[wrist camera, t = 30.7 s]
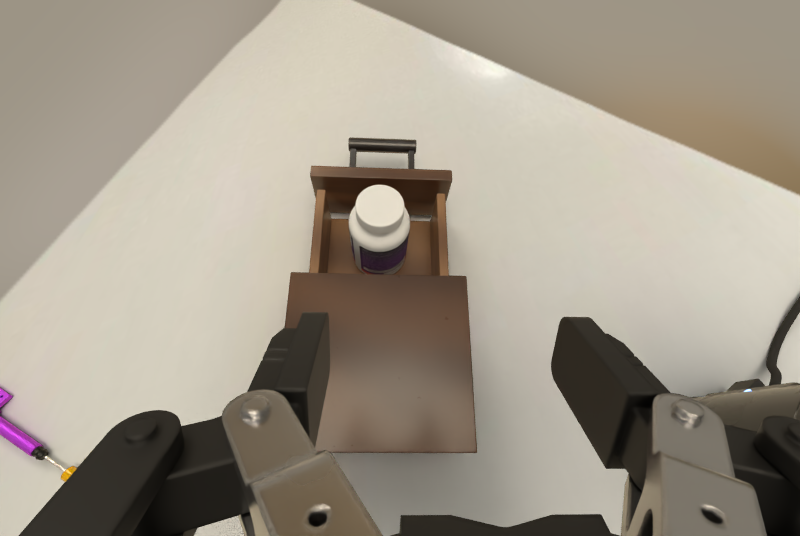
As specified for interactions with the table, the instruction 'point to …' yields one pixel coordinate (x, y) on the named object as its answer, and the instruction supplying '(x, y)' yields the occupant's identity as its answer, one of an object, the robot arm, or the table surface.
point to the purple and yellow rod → (27, 440)
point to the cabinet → (392, 361)
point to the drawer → (420, 197)
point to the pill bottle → (379, 230)
